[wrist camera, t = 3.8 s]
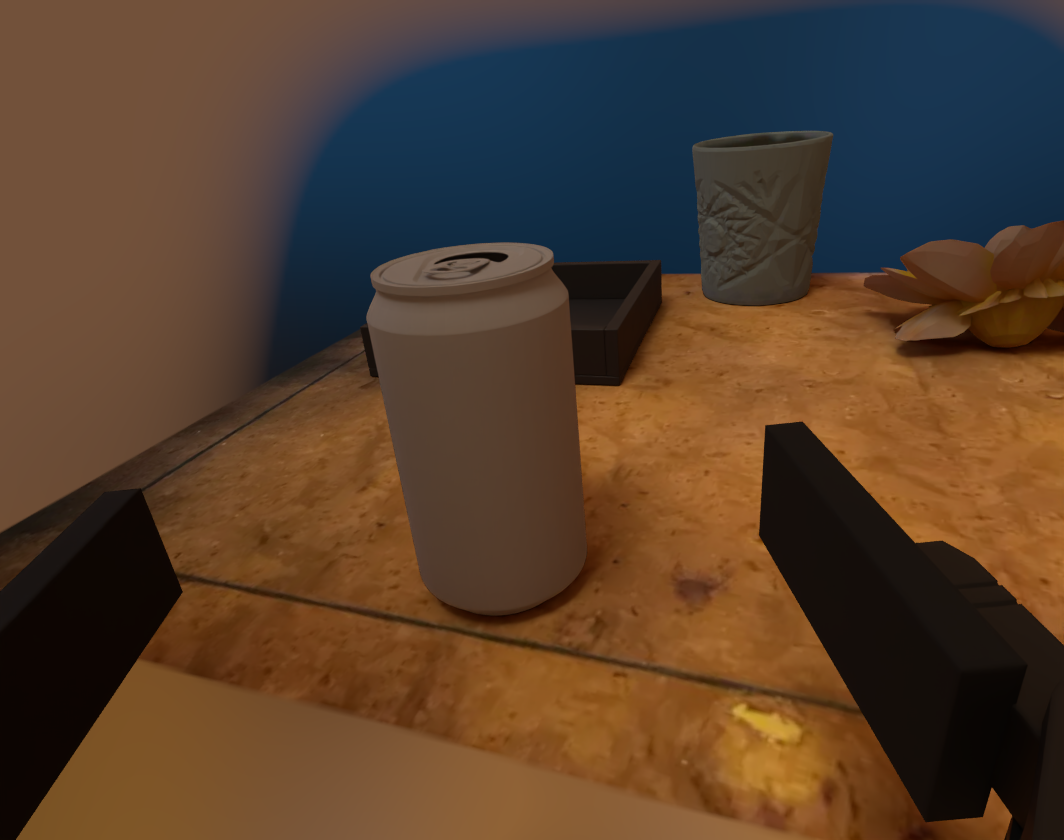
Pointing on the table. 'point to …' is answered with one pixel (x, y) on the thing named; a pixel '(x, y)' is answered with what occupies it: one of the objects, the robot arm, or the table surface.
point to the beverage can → (483, 421)
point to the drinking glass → (759, 214)
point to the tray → (599, 316)
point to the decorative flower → (983, 286)
